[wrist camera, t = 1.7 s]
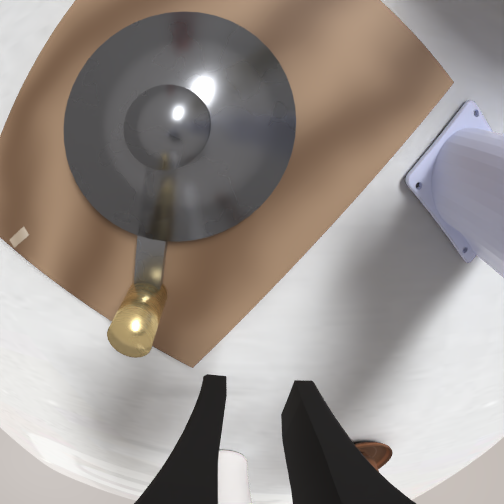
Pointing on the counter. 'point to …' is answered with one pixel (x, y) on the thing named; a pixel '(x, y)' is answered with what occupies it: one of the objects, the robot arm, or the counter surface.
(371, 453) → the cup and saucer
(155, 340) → the board
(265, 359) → the counter surface
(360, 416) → the counter surface
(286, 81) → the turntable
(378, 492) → the robot arm
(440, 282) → the counter surface
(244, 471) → the drinking glass
